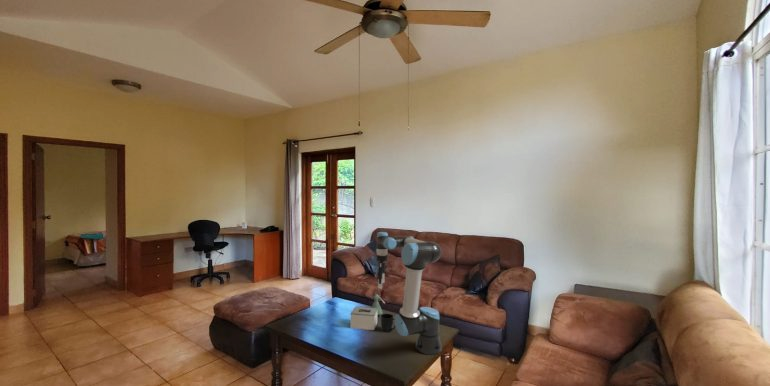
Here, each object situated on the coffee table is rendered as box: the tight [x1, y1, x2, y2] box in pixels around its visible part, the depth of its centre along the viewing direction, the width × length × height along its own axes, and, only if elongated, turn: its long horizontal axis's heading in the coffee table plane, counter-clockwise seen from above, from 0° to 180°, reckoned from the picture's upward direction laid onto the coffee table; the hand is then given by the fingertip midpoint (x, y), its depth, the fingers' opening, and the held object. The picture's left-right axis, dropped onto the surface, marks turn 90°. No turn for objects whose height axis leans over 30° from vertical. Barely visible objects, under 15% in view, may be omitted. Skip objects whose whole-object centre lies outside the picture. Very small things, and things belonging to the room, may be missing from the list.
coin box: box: [350, 306, 378, 331], centre depth 219 cm, size 16×12×10 cm
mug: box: [380, 313, 396, 333], centre depth 212 cm, size 8×12×10 cm
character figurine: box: [365, 291, 386, 318], centre depth 236 cm, size 16×8×18 cm, turn 65°
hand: (381, 285), depth 222 cm, fingers open, 13 cm apart
